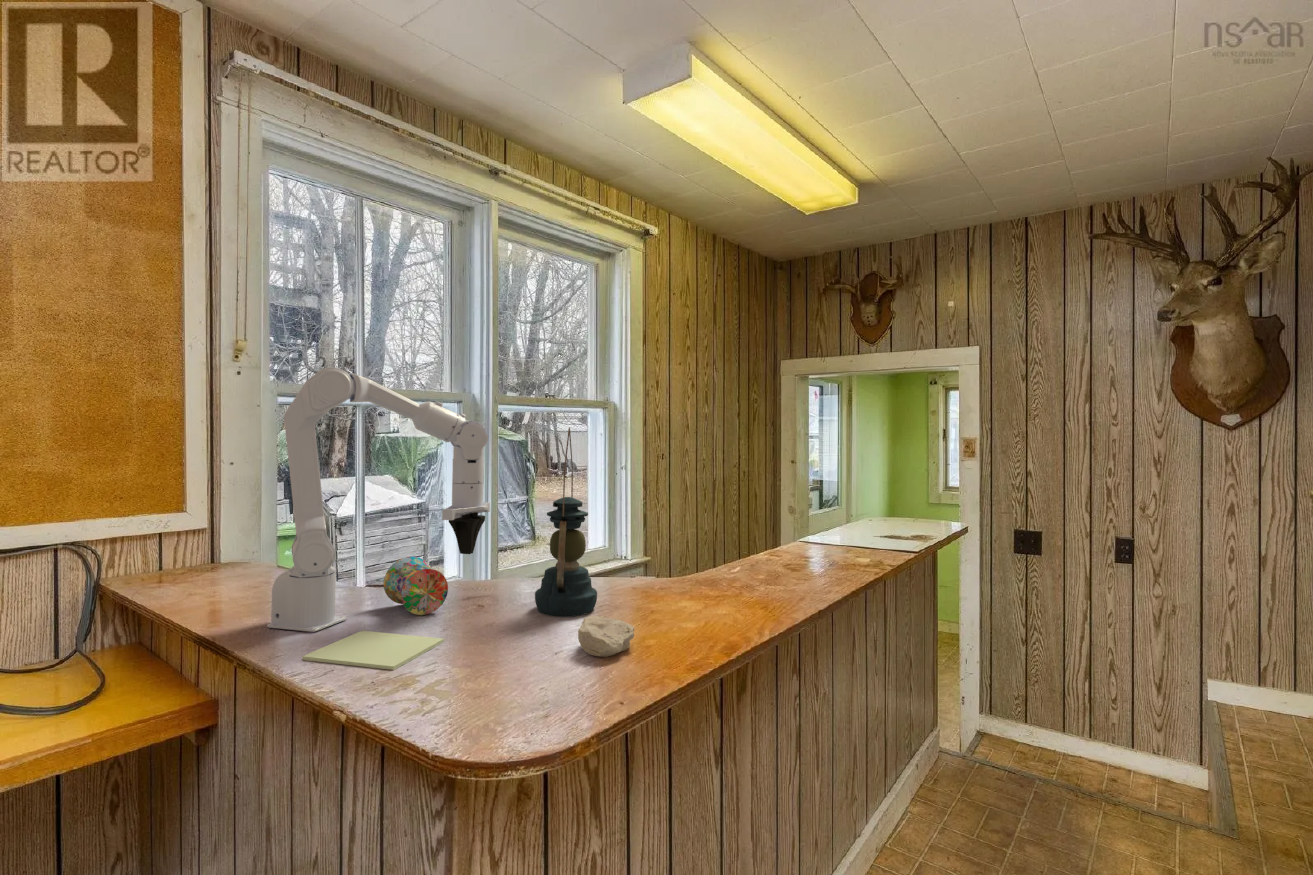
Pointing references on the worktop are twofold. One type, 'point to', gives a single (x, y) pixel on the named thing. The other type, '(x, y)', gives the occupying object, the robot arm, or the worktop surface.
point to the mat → (374, 650)
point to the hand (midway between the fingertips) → (466, 553)
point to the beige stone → (604, 635)
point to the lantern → (566, 562)
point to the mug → (415, 585)
